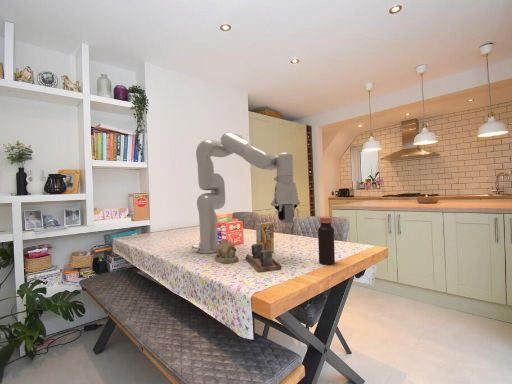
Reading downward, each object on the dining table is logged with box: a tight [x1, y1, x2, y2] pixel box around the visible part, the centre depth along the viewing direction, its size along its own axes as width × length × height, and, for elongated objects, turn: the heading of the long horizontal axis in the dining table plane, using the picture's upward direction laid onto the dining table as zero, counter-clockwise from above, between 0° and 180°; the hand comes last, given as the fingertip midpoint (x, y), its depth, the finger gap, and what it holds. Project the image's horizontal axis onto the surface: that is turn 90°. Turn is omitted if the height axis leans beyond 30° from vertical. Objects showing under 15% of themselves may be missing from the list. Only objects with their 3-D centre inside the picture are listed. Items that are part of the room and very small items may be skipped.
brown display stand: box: [245, 243, 282, 273], centre depth 120 cm, size 10×20×8 cm, turn 17°
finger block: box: [279, 205, 294, 224], centre depth 126 cm, size 4×6×8 cm
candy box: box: [255, 221, 275, 253], centre depth 141 cm, size 9×4×15 cm, turn 129°
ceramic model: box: [214, 238, 239, 265], centre depth 130 cm, size 14×11×10 cm
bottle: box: [317, 216, 336, 266], centre depth 119 cm, size 7×7×20 cm
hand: (286, 219), depth 126 cm, fingers closed on finger block, 4 cm apart
